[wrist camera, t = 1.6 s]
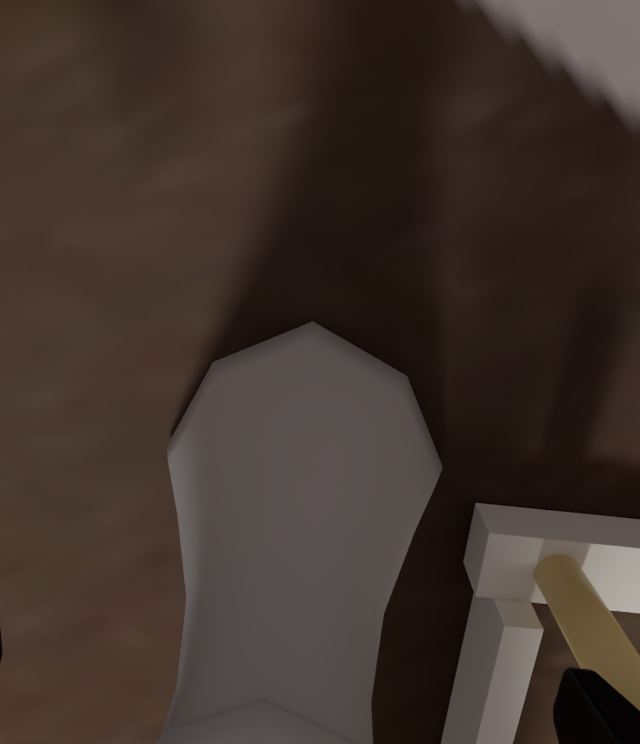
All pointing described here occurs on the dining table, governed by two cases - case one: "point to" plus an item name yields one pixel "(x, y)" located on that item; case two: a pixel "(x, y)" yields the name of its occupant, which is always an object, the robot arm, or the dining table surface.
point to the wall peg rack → (519, 621)
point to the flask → (292, 538)
